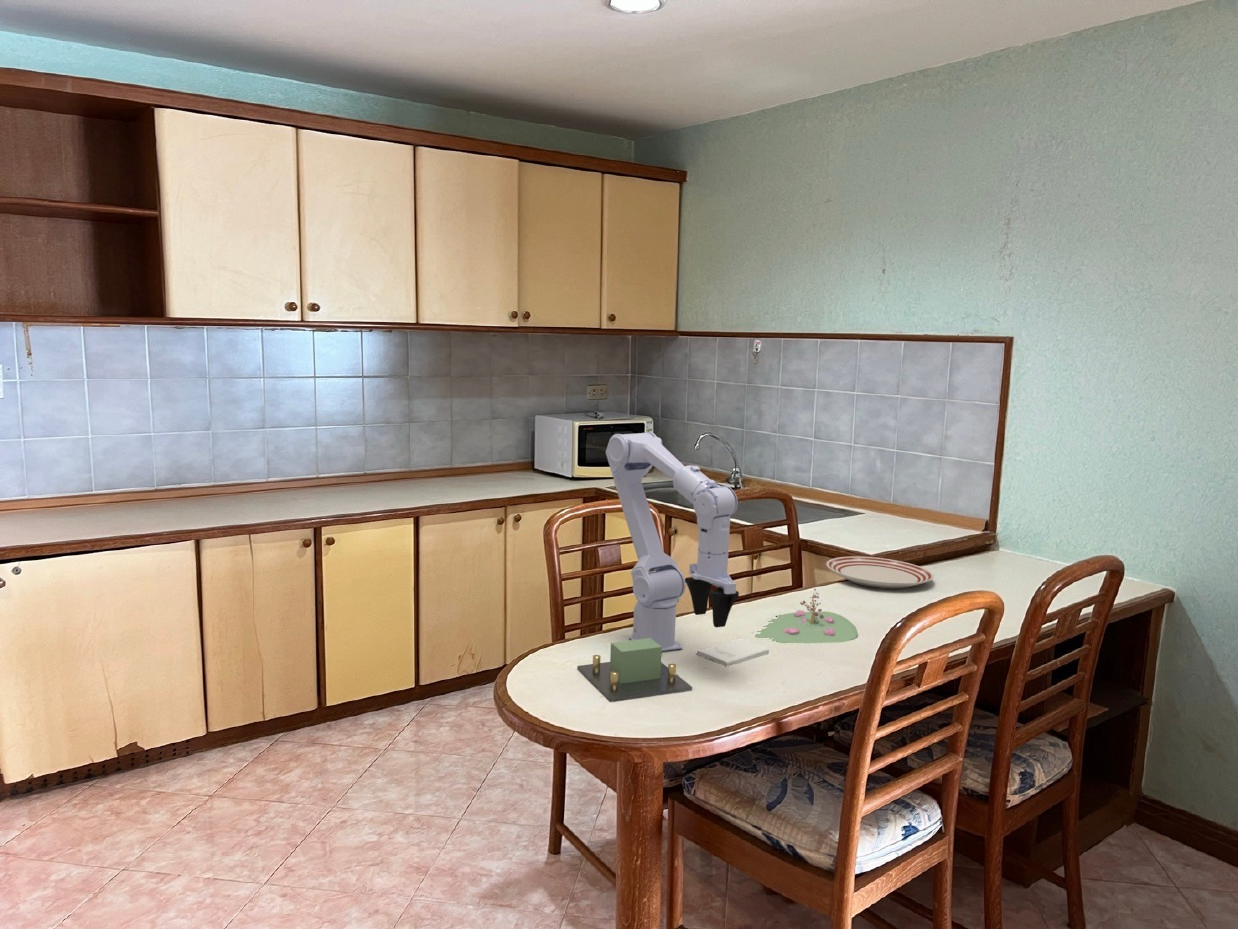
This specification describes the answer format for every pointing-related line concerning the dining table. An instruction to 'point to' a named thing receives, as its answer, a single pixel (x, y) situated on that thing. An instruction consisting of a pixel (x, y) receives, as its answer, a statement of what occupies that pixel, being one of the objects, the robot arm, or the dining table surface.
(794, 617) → the plant
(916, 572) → the dinner plate
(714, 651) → the external hard drive
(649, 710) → the dining table surface
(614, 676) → the chassis
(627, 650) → the board block
